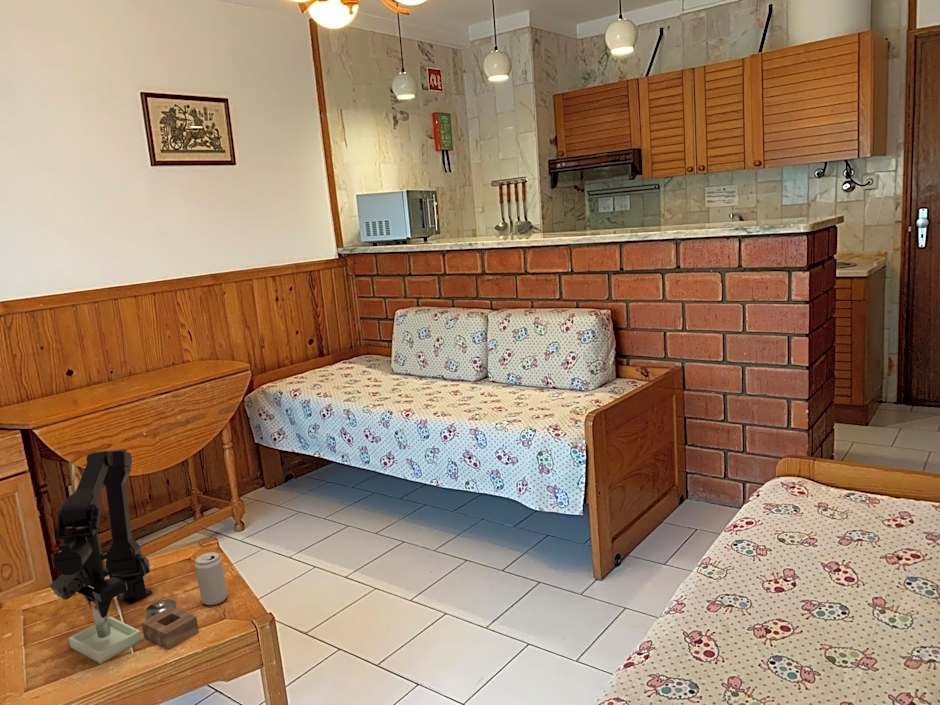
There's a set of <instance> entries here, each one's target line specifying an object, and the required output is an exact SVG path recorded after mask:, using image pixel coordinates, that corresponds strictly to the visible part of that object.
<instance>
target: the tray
mask: <svg viewBox="0 0 940 705" xmlns="http://www.w3.org/2000/svg"><path fill="white" fill-rule="evenodd" d="M108 621H109V626H110V631H111V634H110V635H109V636H107V637H104V638H98V635H97V631H96V626H95V624H93V625H91V626H89V627H87V628H85V629H83V630H81V631H79V632H78V633H76V634H74V635H71V636H69V637H68V642H69V645H70V646H69V647H70V648H71V649H72V650H74V651H76V652H78V653H80V654H81V655H83V656H85V657H86V658H88V659H90V660H91V661H94V662H96V663H97V664H98V665H102V664H103V663H105V662H107V661H109V660H110V659H112V658H114V657H116V656H117V655H119V654H120V653H123V652H124V651H127V650H128V649H130V648H132V647H133V646H135V645H137V644H138V643H140V642H142V641H143V638H142V633H141V630H140V629H137V628H135V627H133V626H131V625H129V624H127V623H125V622H123V621H121V620H119V619H117V618H114V617H112V616H108Z"/></svg>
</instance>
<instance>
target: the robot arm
mask: <svg viewBox="0 0 940 705" xmlns="http://www.w3.org/2000/svg"><path fill="white" fill-rule="evenodd" d="M132 464H133V456H132V454H131V453H130V452H129V451H127V449H124V448H121V449H112V450H101V451H93V452H90V453H88V454H87V455H86V464H85V467H84V470H83V471H82V475H81V477H80V479H79V481H78V485H77V487H76V489H75V491H74V492H73V493H72V494H71V495H69V496H68V497H67V498H65V500H64V502H63V504H62V505H61V507H60V509H59V510H58V514H57V516H58V518H57V528H56V541H63V540H64V542H63V543H61V545H60V547H59V548H60V551H59V552H57V554H56V556H54V559H53V560H54V561H53V566H54V568H55V570H56V571H57V572H58V573H60V574H61V575H60V576H59V577H57V578H56V579H55V580H54V581H53V582H51V584H50V586H49V587H50V588H51V590H52V591H53V593H54V594H55V595H56V596H57V597H58V598H60V599H61V600H64V601H67V600H69V599H71V598H72V596H74V595H76V594H77V593H78V594H81V595H82V596H83V597H84V599H85V601H86V602H87V604H88V606H89V607H90V609H91V610H92V607H91V602H90V601H91V600H95V603H96V606H97V608H98V611H99V613H100V615H101V617H102V618H104V617H105V616H108V612H109V609H110V606H111V603H112V600H113V599H114V598H115V597H116V599H117V600H118V601H121V602H123V603H125V604H128V605H131V604H134V603H136V602H138V601H140V600H141V599H143V598H145V597H147V596H149V595H152V593H153V591H152V590H150V589H148V588H146V584H145V578H144V577H145V576H146V575H148V574H149V573H150V572H151V568H150V560H149V559H148V558H147V557H145V555H144V554H143V553H142V549H141V546H140V544H138V543H137V541H136V540H135V539H134V538H133V533H132V526H131V517H130V516H131V515H130V508H129V500H128V499H129V498H128V493H127V492H128V491H127V490H128V489H127V480H128V478H129V476H130V474H131V472H132ZM103 485H104V487H105V492H106V501H107V508H108V509H107V510H108V511H107V512H108V519H109V527H110V535H111V544H110V547H109V549H108V550H107V551H106V553H105V552H102V546H101V543H100V542H101V541H100V537H99V532H98V530H99V526H100V521H101V512H102V511H101V507H100V506H99V505H100V504H99V502H98V498H99V496H100V492H101V490H102V487H103ZM75 528H76V529H75ZM66 529H67V530H66ZM104 560H106V561H104ZM106 577H109V578H106Z"/></svg>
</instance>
